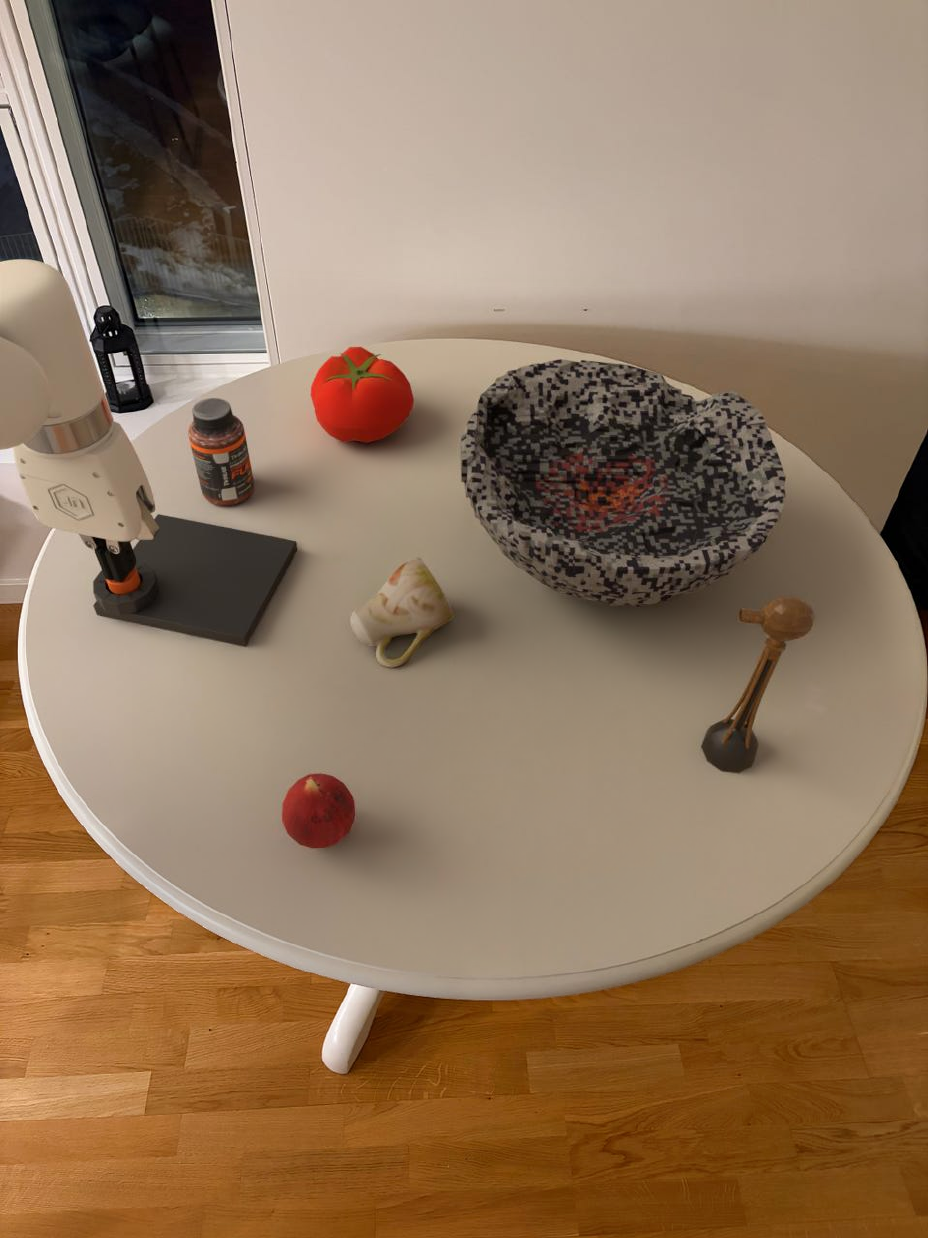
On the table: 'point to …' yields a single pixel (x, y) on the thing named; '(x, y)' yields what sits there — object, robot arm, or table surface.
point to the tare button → (125, 583)
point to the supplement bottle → (220, 453)
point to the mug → (402, 611)
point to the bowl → (619, 480)
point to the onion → (318, 811)
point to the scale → (201, 580)
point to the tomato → (360, 396)
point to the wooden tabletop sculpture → (756, 683)
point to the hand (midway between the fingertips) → (121, 570)
